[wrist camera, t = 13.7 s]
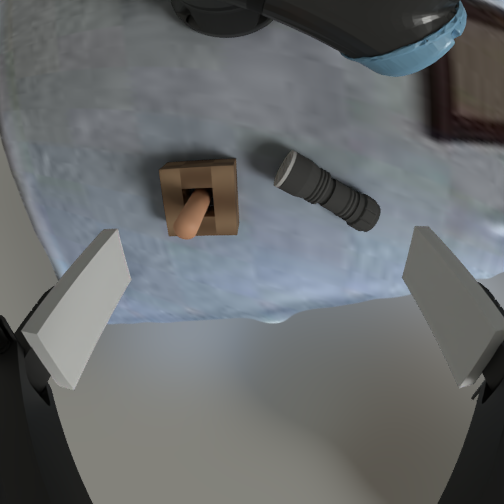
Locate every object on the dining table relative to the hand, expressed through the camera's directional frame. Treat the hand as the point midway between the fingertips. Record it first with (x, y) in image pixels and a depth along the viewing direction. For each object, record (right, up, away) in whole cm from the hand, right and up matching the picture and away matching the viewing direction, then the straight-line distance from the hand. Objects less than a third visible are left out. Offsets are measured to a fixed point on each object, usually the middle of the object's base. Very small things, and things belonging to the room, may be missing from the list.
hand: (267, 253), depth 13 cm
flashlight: (+10, +10, +30) cm, 33 cm away
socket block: (-8, +9, +31) cm, 33 cm away
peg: (-8, +9, +31) cm, 33 cm away
